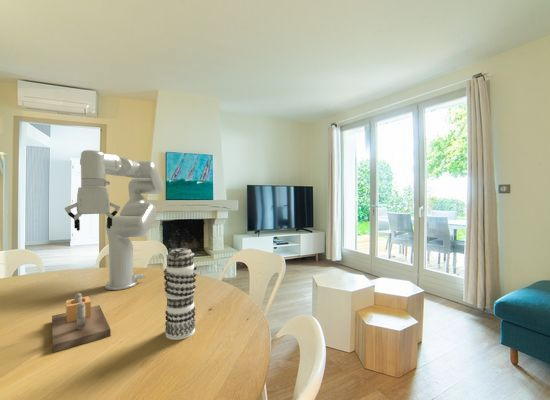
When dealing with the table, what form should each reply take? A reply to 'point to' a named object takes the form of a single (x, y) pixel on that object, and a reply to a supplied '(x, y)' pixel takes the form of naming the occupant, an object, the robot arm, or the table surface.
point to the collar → (72, 309)
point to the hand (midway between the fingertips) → (93, 229)
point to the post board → (79, 327)
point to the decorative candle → (180, 294)
